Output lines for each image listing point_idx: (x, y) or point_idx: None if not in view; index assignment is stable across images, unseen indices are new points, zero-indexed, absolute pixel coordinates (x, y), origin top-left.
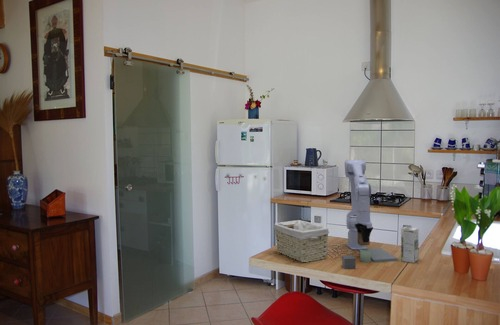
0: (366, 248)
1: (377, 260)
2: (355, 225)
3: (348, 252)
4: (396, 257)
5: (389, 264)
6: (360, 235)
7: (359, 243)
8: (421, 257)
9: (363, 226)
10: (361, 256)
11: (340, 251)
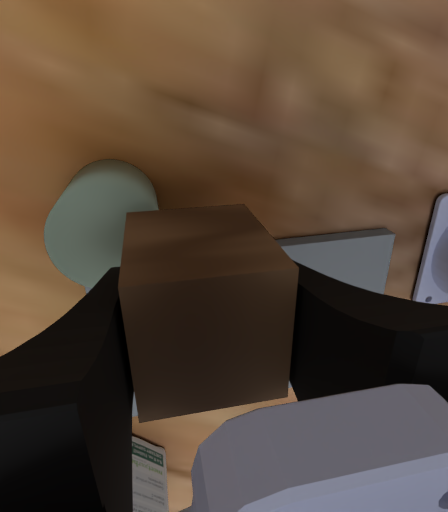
0: (415, 294)
1: (88, 291)
2: (439, 322)
3: (391, 139)
4: (136, 415)
5: (18, 345)
6: (128, 275)
7: (177, 213)
8: (170, 507)
9: (64, 508)
10: (86, 172)
11: (444, 75)
